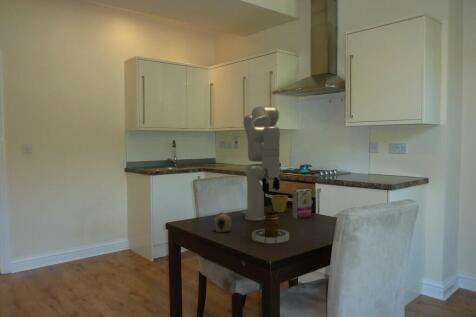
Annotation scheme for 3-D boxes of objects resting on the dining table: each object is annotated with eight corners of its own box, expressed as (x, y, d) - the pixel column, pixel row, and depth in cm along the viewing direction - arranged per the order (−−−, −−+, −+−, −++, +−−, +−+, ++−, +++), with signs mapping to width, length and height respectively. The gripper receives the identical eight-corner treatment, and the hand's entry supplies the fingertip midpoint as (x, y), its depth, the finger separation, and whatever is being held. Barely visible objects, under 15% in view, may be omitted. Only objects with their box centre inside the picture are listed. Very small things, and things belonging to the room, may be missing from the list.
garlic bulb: (215, 235, 190) (210, 215, 192) (230, 230, 193) (225, 212, 195) (219, 233, 182) (214, 213, 184) (235, 229, 185) (230, 209, 186)
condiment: (281, 237, 174) (281, 211, 174) (267, 240, 169) (267, 213, 169) (271, 234, 180) (272, 209, 180) (257, 236, 176) (257, 211, 175)
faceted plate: (245, 239, 173) (245, 234, 173) (264, 232, 187) (264, 227, 187) (277, 245, 163) (277, 239, 163) (295, 237, 177) (295, 232, 177)
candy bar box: (306, 215, 226) (306, 188, 226) (312, 217, 222) (312, 189, 221) (291, 217, 221) (292, 190, 220) (297, 219, 217) (297, 190, 216)
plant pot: (277, 213, 233) (277, 197, 233) (268, 210, 242) (268, 195, 242) (290, 212, 238) (290, 196, 238) (281, 209, 247) (281, 194, 247)
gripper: (273, 152, 183) (273, 187, 184) (254, 153, 169) (254, 191, 170) (287, 153, 179) (287, 188, 180) (268, 154, 165) (268, 193, 165)
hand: (271, 190), depth 175 cm, fingers open, 9 cm apart
